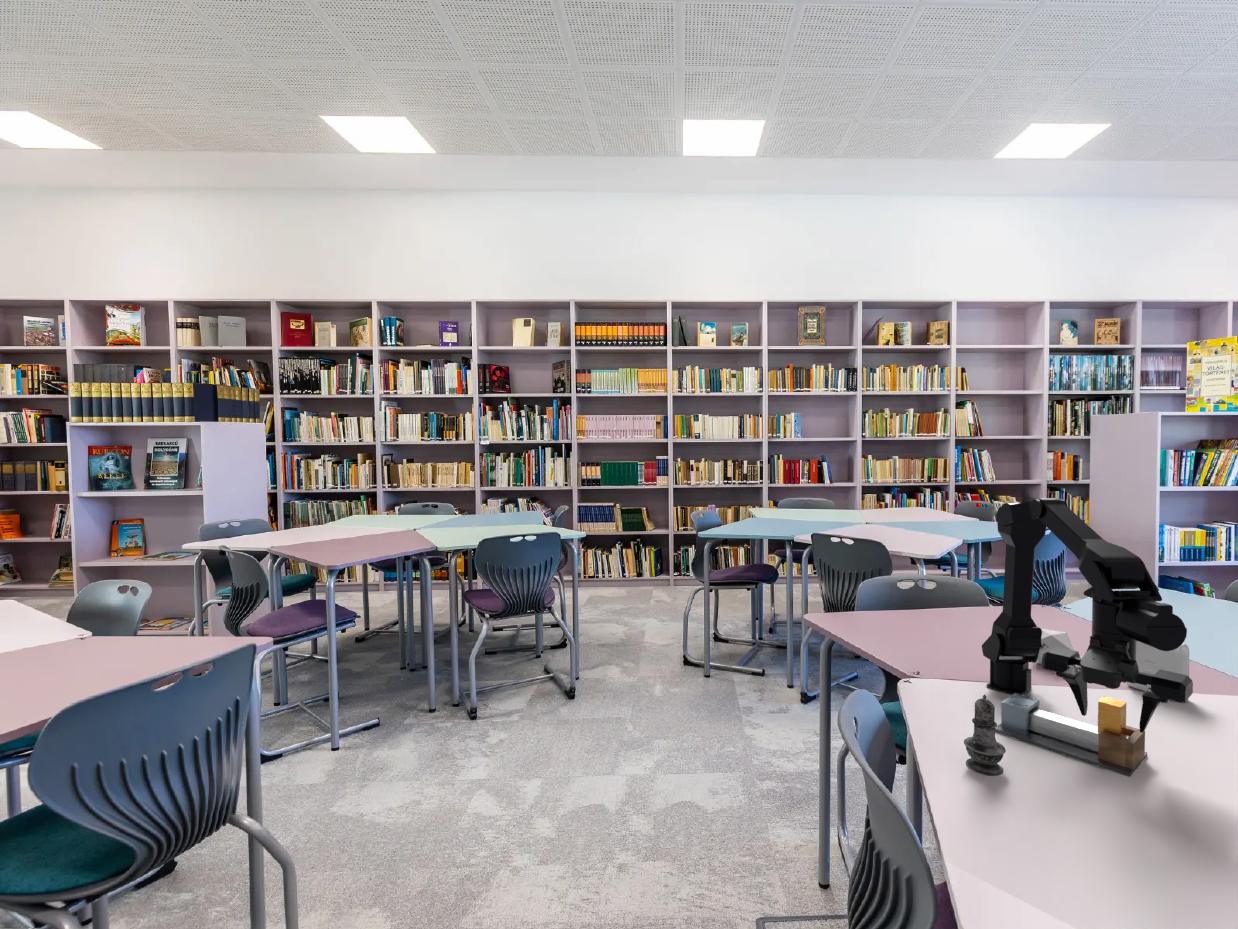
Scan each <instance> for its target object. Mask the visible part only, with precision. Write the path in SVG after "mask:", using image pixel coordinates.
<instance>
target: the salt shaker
mask: <svg viewBox="0 0 1238 929" xmlns="http://www.w3.org/2000/svg"><path fill="white" fill-rule="evenodd" d="M987 698H988V696H987V695H986V694H985V693H984V694H983V695H982V698H979V699H977V700H975V702H974V717H973V718H971V722H972V723H973V735H972V736H969V737H966V738H965V739H964V740H963V744H964V746H965V749H966V752H967V754H968V756H969V758H967V759H966V761H965V766H966V767H967V768H968V769H969V770H971V771H973V772H975V773H976V774H981V775H984V776H990V777H998V776H1001V775H1003V774H1004V768H1003V767H1002V766H1001V765H1000V764H999V763H1000V762H1001V761H1002V759H1003V758H1004V754H1006V750H1007V748H1005V746H1004V745H1003V744H1001V743H1000V742H999V741H997V739H996V732H995V728H996V727H997V726H998V723H997V722H996V720H995V719H996V718H995V717H996V710H995V709H996V707H995V704H994V703H993V702H992V701H990V700H989V699H987Z"/></svg>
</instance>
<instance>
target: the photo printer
mask: <svg viewBox="0 0 1238 929" xmlns="http://www.w3.org/2000/svg"><path fill="white" fill-rule="evenodd" d="M1136 660H1137V664H1138V669H1139V672H1143V673H1148V674H1152V675H1154V674H1156V673H1157V672H1158V671H1159V670H1165V671H1170V672H1174V673H1179V674H1183V675H1188V676H1189V677H1190V648H1189V646H1188V644H1187V643H1185V642H1183V644H1182V645H1181V646H1179V647H1178V648H1177V649H1174V650H1171V651H1162V650H1159V649H1156V648H1154V647H1151V646H1149V645H1146V644H1144V643H1141V642H1139V641H1137V642H1136ZM1126 685H1127V686H1128V687H1132V688H1134V689H1137V690H1140V691H1143V692H1146V691H1147V690H1148V689H1147V686H1146V685H1142V684H1138V683H1134V684H1133V683H1129V682H1126ZM1188 701H1189V698H1188V699H1187V701H1186V702H1188Z"/></svg>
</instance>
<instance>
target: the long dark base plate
mask: <svg viewBox="0 0 1238 929" xmlns="http://www.w3.org/2000/svg"><path fill="white" fill-rule="evenodd" d="M1040 702H1041V701H1040V699H1038V698H1035V697H1031V696H1028V695H1024V694H1023V695H1021V694H1017V693H1014V694H1011V695H1009V696H1008V697H1007V698H1005V699H1004V700H1002V701H1001V709H1000V710H1001V712H1000V713H1001V717H1000V718H1001V719H1000V721H1001V722H1000V723H999V724H997V727H996V728H995V733H997V734H1000V735H1003V736H1006V737H1008V738H1012V739H1015V740H1018V741H1020V742H1021V741H1022V742H1023V743H1027V744H1029V745H1033V746H1035V747H1039V748H1042V749H1045V750H1048V751H1052V752H1054V753H1057V754H1061V755H1063V756H1066V757H1069V758H1072V759H1073V760H1078V761H1080V762H1084V763H1087V764H1090V765H1093V766H1095V767H1099V768H1102V769H1105V770H1108V771H1111V772H1113V773H1117V774H1120V775H1123V776H1125V777H1128V778H1131V777H1132V775H1133V774H1134V773H1135V772H1136V770H1138V768H1139V767H1140V765H1141V764H1142V763H1143V762H1144V761H1145V760H1146V758H1147V757H1148V752H1147V751H1145V756H1144V757H1143V758H1142V760H1141V761H1140V762H1139V763H1138V764H1137V766H1136V767H1135V768H1134V769H1130V768H1127V767H1124V766H1120V765H1117V764H1114V763H1111V762H1108V761H1105V760H1102V759H1099V758H1098V752H1097V751H1094V750H1091V749H1088V748H1085V747H1082V746H1079V745H1076V744H1072V743H1069V742H1066V741H1063V740H1060V739H1057V738H1054V737H1050V736H1047V735H1044V734H1041V733H1038V732H1035V731H1032V730H1029V729H1028V712H1029V711H1030V710H1031V709H1033V708H1036V709H1039V710H1040Z"/></svg>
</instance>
